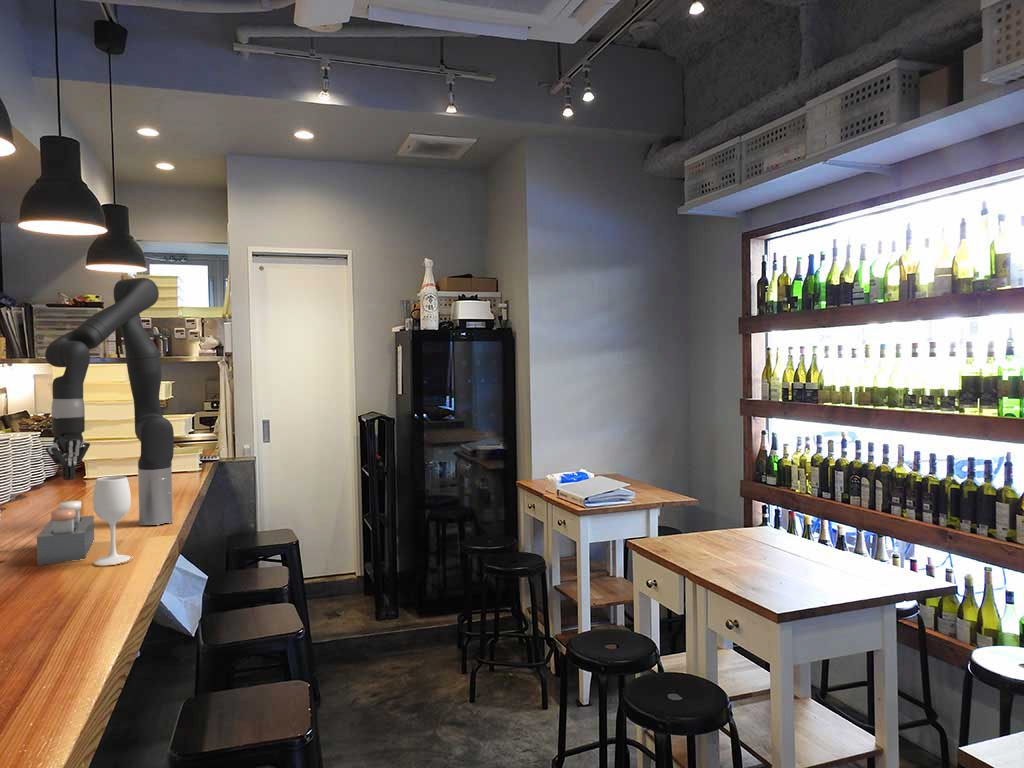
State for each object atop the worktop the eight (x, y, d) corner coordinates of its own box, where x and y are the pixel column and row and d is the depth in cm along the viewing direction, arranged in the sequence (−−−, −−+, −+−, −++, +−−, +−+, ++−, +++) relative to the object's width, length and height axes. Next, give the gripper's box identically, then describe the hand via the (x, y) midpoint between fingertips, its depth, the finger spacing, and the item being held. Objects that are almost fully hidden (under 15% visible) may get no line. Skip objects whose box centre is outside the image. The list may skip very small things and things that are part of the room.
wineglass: (124, 555, 181) (122, 474, 180) (139, 561, 176) (137, 477, 175) (87, 562, 174) (85, 478, 174) (101, 569, 169) (99, 482, 168)
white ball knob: (82, 525, 193) (82, 500, 192) (80, 529, 188) (80, 503, 188) (60, 527, 190) (60, 501, 190) (57, 531, 186) (57, 505, 185)
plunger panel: (94, 540, 196) (93, 515, 196) (84, 560, 176) (84, 532, 176) (51, 544, 192) (51, 519, 191) (37, 565, 172) (36, 537, 172)
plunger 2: (77, 535, 182) (76, 508, 182) (74, 539, 177) (74, 512, 177) (53, 537, 180) (52, 510, 179) (50, 541, 175) (49, 514, 175)
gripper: (75, 413, 196) (75, 475, 196) (35, 416, 183) (36, 483, 183) (99, 414, 194) (99, 476, 195) (60, 417, 181) (61, 484, 182)
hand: (68, 479), depth 189 cm, fingers closed
